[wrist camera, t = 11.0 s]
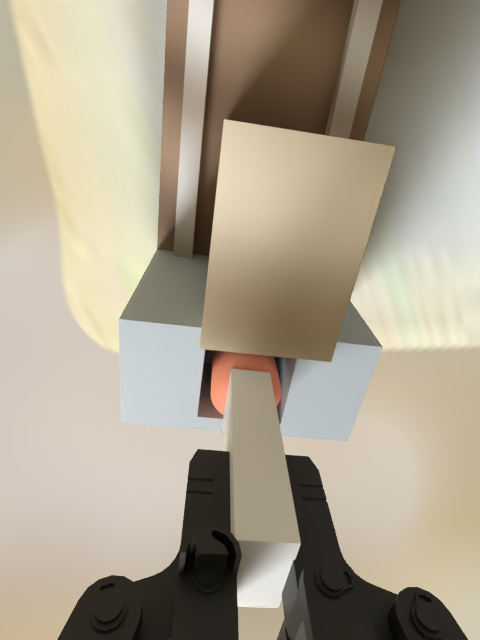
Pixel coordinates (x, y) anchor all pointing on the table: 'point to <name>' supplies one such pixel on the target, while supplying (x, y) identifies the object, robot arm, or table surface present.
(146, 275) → the cabinet
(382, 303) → the table surface
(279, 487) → the robot arm
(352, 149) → the carriage
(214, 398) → the button
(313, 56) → the rail bed
